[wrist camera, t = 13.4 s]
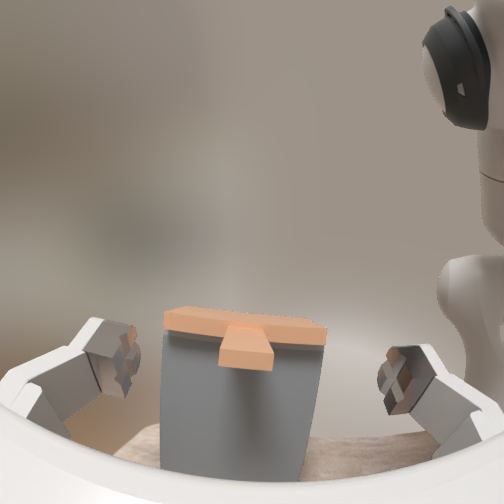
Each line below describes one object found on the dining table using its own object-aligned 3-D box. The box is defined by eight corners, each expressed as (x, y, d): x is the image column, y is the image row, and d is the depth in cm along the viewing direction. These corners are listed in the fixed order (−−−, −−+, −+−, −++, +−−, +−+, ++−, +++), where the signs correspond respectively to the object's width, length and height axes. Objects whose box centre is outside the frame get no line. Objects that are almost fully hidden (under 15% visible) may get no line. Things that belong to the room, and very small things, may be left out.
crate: (278, 454, 43) (298, 324, 47) (291, 508, 27) (324, 342, 30) (182, 445, 43) (190, 313, 46) (162, 495, 27) (164, 325, 30)
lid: (302, 329, 40) (303, 317, 41) (367, 372, 18) (371, 348, 18) (185, 317, 40) (186, 305, 40) (121, 348, 17) (122, 323, 18)
